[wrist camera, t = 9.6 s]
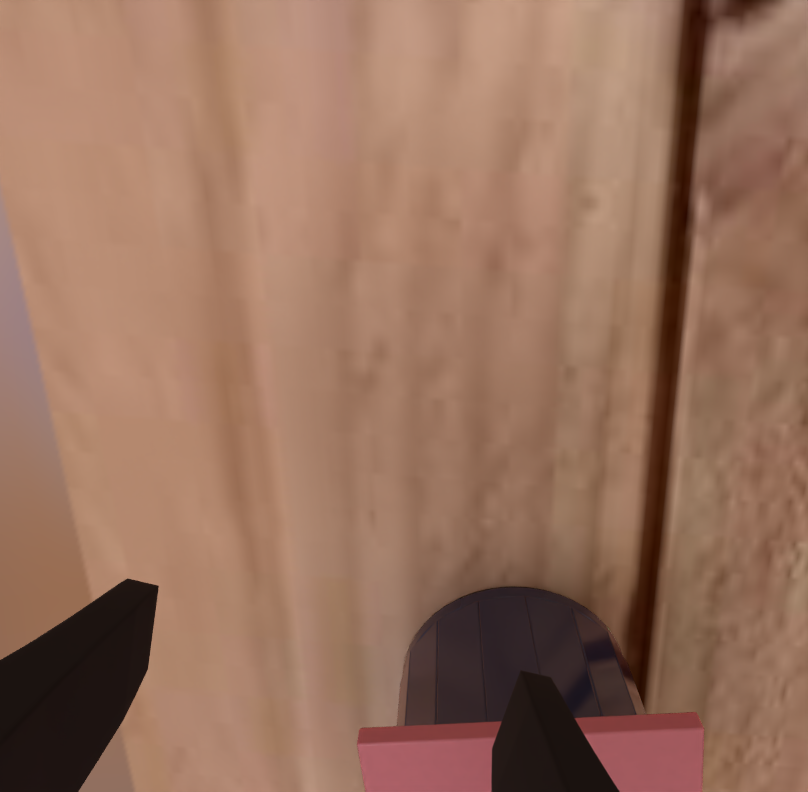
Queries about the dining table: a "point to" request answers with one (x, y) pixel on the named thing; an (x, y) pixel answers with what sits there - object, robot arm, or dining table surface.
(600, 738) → the pink square knobbed lid
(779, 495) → the dining table surface
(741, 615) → the dining table surface
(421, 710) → the dark faceted cylinder
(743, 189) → the dining table surface
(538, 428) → the dining table surface
